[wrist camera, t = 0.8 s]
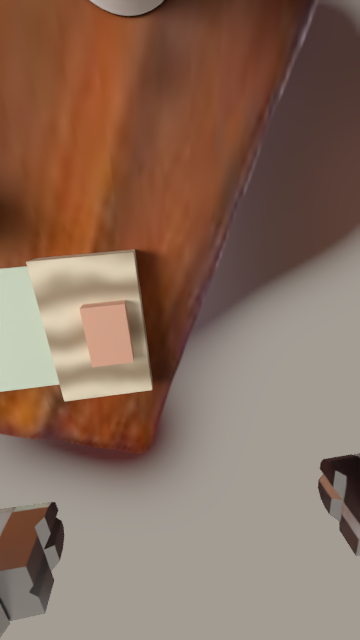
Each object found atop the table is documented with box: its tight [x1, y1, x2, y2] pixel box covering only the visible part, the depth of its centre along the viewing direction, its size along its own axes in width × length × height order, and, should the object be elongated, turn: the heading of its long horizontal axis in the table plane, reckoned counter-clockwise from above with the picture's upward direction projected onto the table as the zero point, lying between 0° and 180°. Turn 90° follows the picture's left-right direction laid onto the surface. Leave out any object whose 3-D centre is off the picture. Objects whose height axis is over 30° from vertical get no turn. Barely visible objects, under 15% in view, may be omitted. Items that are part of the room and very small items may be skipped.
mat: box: [0, 266, 59, 392], centre depth 42 cm, size 20×14×1 cm
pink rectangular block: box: [80, 300, 134, 367], centre depth 39 cm, size 9×6×2 cm, turn 4°
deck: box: [26, 249, 152, 401], centre depth 41 cm, size 22×14×4 cm, turn 5°
